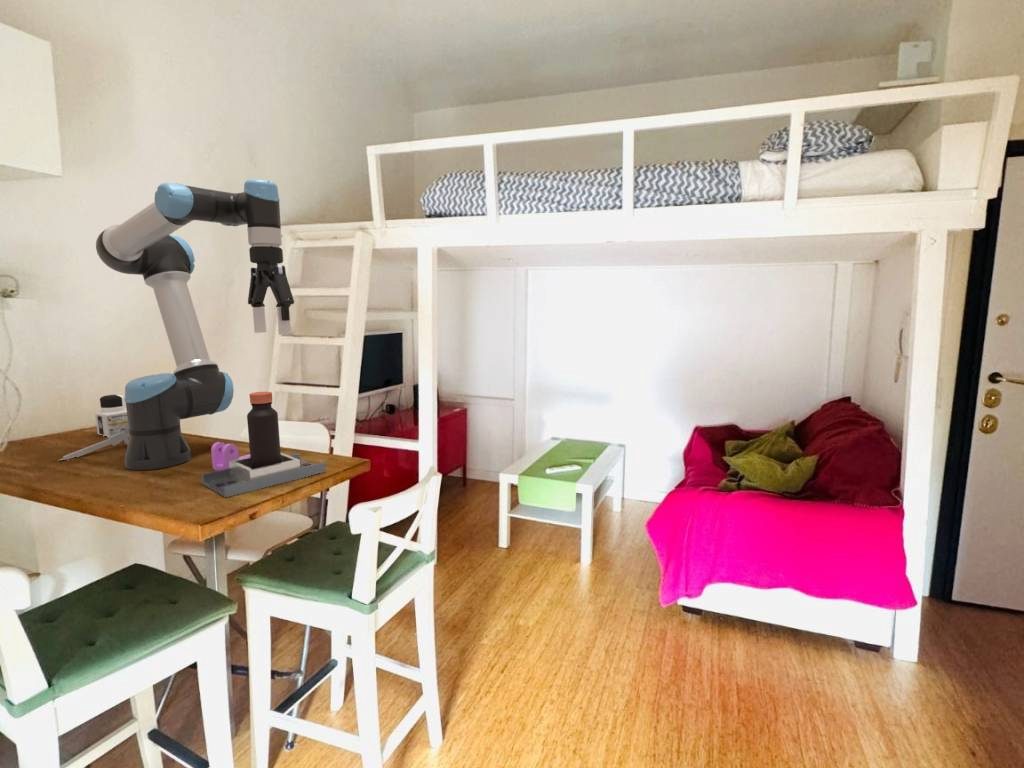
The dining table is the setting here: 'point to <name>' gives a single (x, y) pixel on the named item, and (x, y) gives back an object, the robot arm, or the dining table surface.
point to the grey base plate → (258, 475)
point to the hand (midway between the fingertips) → (272, 333)
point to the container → (111, 415)
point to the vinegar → (263, 431)
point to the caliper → (102, 444)
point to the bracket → (224, 455)
